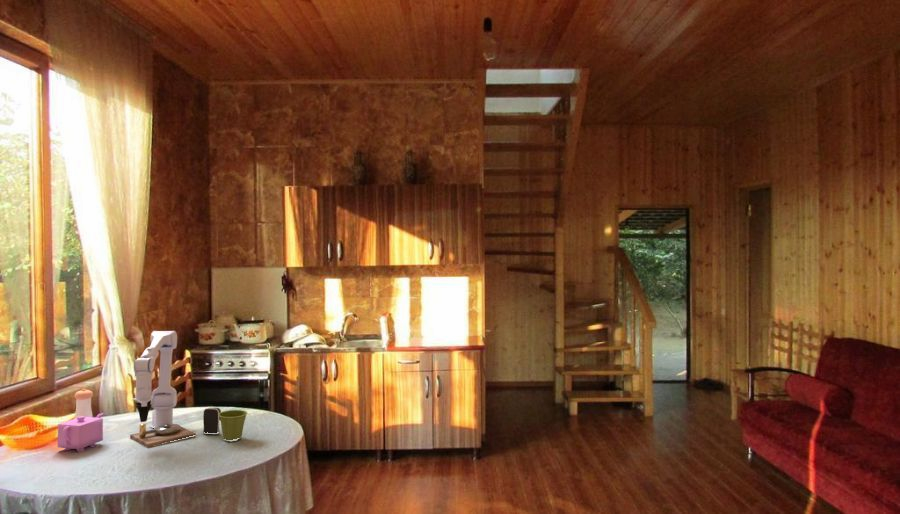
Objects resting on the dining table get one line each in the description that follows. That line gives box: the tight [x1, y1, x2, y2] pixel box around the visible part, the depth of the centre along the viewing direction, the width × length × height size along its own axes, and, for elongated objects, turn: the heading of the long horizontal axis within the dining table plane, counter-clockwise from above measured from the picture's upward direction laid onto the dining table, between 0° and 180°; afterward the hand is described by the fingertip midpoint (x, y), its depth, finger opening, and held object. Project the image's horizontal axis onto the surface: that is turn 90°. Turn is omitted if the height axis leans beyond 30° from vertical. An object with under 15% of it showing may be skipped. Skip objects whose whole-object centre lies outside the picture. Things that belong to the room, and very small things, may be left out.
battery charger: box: [202, 407, 222, 433], centre depth 260 cm, size 7×4×11 cm, turn 81°
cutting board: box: [129, 426, 197, 448], centre depth 254 cm, size 18×20×2 cm
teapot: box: [57, 412, 104, 453], centre depth 241 cm, size 20×10×12 cm, turn 168°
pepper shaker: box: [74, 388, 94, 419], centre depth 260 cm, size 7×7×19 cm
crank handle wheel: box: [138, 423, 180, 437], centre depth 254 cm, size 16×10×5 cm, turn 138°
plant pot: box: [218, 409, 248, 440], centre depth 252 cm, size 12×12×11 cm
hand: (143, 420), depth 243 cm, fingers open, 4 cm apart
